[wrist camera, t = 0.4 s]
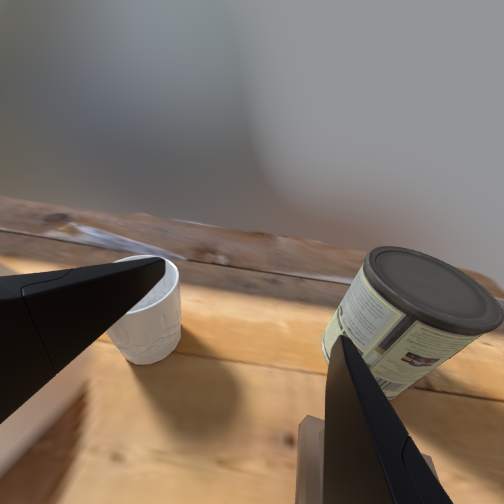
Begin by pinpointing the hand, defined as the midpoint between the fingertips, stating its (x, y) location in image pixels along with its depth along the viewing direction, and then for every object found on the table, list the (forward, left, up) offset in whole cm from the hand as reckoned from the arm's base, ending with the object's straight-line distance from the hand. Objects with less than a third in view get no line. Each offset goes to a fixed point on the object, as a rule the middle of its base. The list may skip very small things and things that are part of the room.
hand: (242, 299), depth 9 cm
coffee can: (+11, -15, -17) cm, 25 cm away
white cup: (+5, +11, -17) cm, 21 cm away
